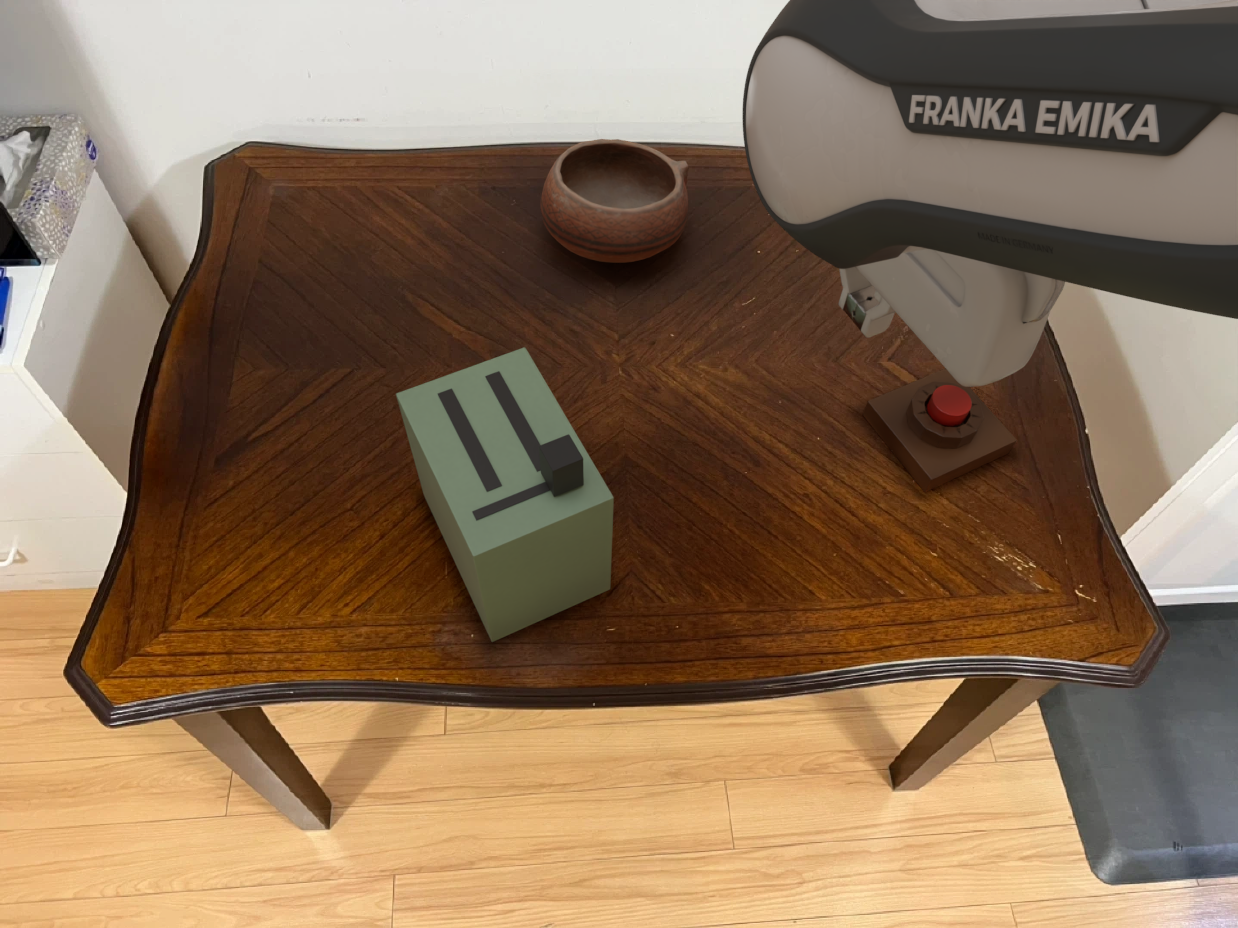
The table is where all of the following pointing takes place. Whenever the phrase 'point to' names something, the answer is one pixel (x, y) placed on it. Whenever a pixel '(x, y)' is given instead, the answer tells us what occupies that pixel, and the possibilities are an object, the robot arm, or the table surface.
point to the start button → (949, 405)
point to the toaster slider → (561, 465)
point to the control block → (936, 432)
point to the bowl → (615, 200)
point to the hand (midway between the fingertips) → (862, 319)
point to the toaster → (508, 492)
